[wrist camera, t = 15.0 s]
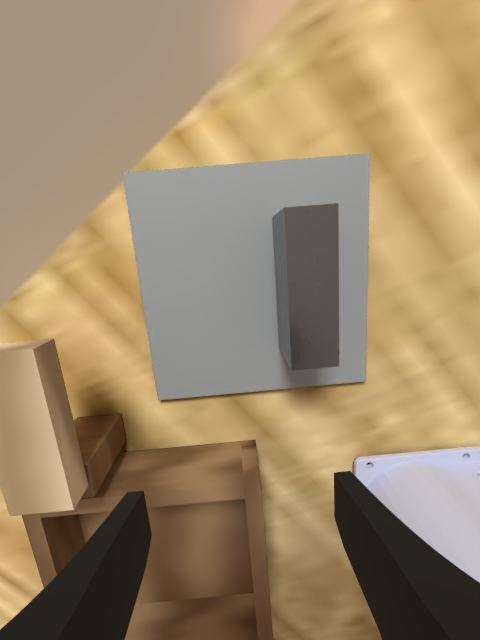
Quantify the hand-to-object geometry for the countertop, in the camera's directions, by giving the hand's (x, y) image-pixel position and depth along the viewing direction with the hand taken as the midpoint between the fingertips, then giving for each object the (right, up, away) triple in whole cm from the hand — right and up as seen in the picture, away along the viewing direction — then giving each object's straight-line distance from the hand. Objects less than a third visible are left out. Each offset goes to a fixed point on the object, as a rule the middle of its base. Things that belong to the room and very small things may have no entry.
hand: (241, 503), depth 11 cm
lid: (+1, +9, +8) cm, 12 cm away
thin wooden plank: (-10, +2, +3) cm, 11 cm away
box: (-5, -8, +11) cm, 15 cm away
